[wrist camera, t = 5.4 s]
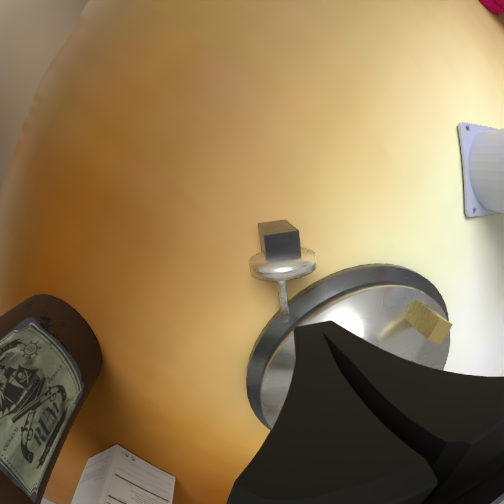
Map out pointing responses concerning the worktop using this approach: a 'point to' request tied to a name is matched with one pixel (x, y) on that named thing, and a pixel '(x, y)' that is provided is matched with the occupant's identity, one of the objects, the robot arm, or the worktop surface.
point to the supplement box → (123, 480)
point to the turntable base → (314, 297)
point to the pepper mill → (494, 5)
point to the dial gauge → (281, 258)
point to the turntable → (365, 332)
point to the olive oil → (40, 390)
